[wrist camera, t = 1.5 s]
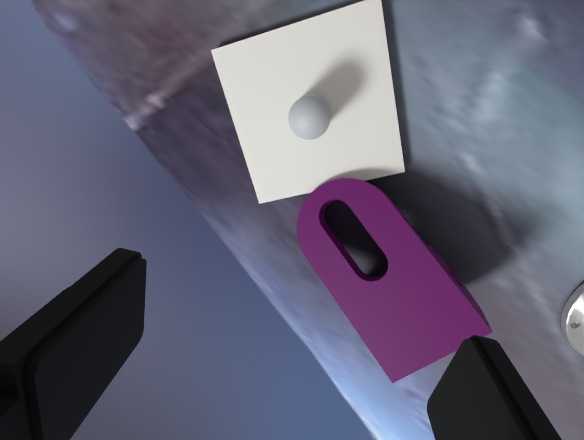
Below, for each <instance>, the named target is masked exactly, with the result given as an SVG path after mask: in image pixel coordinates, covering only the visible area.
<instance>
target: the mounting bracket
mask: <svg viewBox="0 0 584 440" xmlns="http://www.w3.org/2000/svg"><path fill="white" fill-rule="evenodd" d="M335 200H342V201H344V202H345V203H346V204H347V205H348V206H349V207H350V208H351V210H352V211H353V212H354V214H355V215H356V216H357V218H358V219H359V220H360V222H361V223H362V224H363V226H364V227H365V228H366V230H367V231H368V232H369V234H370V235H371V236H372V238H373V239H374V240H375V242H376V243H377V244H378V246H379V247H380V248H381V250H382V251H383V252H384V254H385V255H386V257H387V260H388V270H387V272H386V273H385V274H383V275H381V276H378V277H371V276H368V275H366V274H364V273H363V272H362V271H361V270H360V269H359V267H358V266H357V264H356V263H355V262H354V260H353V259H352V258H351V256H350V255H349V253H348V252H347V251H346V249H345V248H344V246H343V245H342V244H341V242H340V241H339V240H338V238H337V237H336V235H335V234H334V233H333V231H332V230H331V229H330V227H329V226H328V224H327V222H326V219H325V212H326V209H327V207H328V206H329V204H330V203H332V202H333V201H335ZM297 235H298V240H299V244H300V247H301V250H302V252H303V254H304V255H305V257H306V259H307V260H308V261H309V263H310V264H311V266H312V267H313V269H314V270H315V272H316V273H317V274H318V276H319V277H320V279H321V280H322V282H323V283H324V285H325V286H326V287H327V289H328V290H329V292H330V293H331V295H332V296H333V298H334V299H335V300H336V302H337V303H338V305H339V306H340V308H341V309H342V311H343V312H344V314H345V315H346V316H347V318H348V319H349V321H350V322H351V324H352V325H353V327H354V328H355V329H356V331H357V332H358V334H359V335H360V337H361V338H362V340H363V341H364V342H365V344H366V345H367V347H368V348H369V350H370V351H371V353H372V354H373V355H374V357H375V358H376V360H377V361H378V363H379V364H380V366H381V367H382V369H383V370H384V371H385V373H386V374H387V376H388V377H389V379H390V380H391V382H392V383H394V382H396V381H398V380H400V379H402V378H404V377H405V376H407V375H409V374H411V373H413V372H415V371H417V370H419V369H421V368H423V367H425V366H427V365H429V364H431V363H433V362H435V361H437V360H439V359H441V358H443V357H445V356H447V355H449V354H451V353H452V352H454V351H456V350H458V349H459V347H460V345H461V343H462V342H463V340H464V339H469V338H470V337H471V336H473V335H477V336H481V337H484V336H486V335H488V334H490V333H492V330H491V328H490V326H489V324H488V322H487V320H486V318H485V316H484V314H483V312H482V310H481V309H480V307H479V305H478V304H477V302H476V301H475V300H474V298H473V297H472V295H471V294H470V293H469V291H468V290H467V288H466V287H465V286H464V284H463V283H462V282H461V280H460V279H459V278H458V277H457V275H456V274H455V273H454V271H453V270H452V269H451V268H450V267H449V265H448V264H447V263H446V262H445V261H444V259H443V258H442V257H441V256H440V255H439V254H438V252H437V251H436V250H435V249H434V248H433V247H432V246H431V245H430V244H428V245H427V244H426V243H425V242H424V241H423V240H422V238H421V237H420V236H419V235H418V233H417V232H416V231H415V229H414V228H413V227H412V226H411V224H410V223H409V222H408V221H407V219H406V218H405V217H404V215H403V214H402V213H401V212H400V210H399V209H398V208H397V207H396V205H395V204H394V203H393V201H392V200H391V199H390V198H389V197H388V195H387V194H386V193H384V192H383V191H382V190H381V189H380V188H378V187H376V186H375V185H373V184H370V183H368V182H365V181H362V180H359V179H353V178H341V179H335V180H331V181H329V182H326V183H324V184H322V185H321V186H319V187H318V188H316V189H315V190H314V191H313V192H312V193H311V194H310V195H309V196H308V197H307V199H306V200H305V202H304V203H303V205H302V207H301V210H300V213H299V216H298V222H297Z"/></svg>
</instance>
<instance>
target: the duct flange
mask: <svg viewBox="0 0 584 440" xmlns="http://www.w3.org/2000/svg"><path fill="white" fill-rule="evenodd" d="M211 52H212V55H213V59H214V62H215V65H216V68H217V71H218V74H219V77H220V81H221V84H222V87H223V90H224V93H225V96H226V100H227V103H228V106H229V109H230V112H231V115H232V119H233V122H234V125H235V128H236V131H237V134H238V138H239V141H240V144H241V147H242V150H243V153H244V156H245V160H246V163H247V166H248V169H249V172H250V175H251V179H252V182H253V185H254V188H255V191H256V194H257V198H258V201H259V204H260V203H265V202H269V201H274V200H278V199H283V198H288V197H292V196H297V195H301V194H306V193H310V192H313V191H314V190H315V189H316V188H318V187H319V186H321V185H322V184H324V183H326V182H329V181H331V180H335V179H341V178H353V179H359V180H362V181H366V180H370V179H375V178H379V177H384V176H389V175H393V174H398V173H402V172H405V169H404V162H403V154H402V147H401V140H400V133H399V126H398V118H397V111H396V104H395V97H394V89H393V82H392V75H391V68H390V61H389V53H388V46H387V39H386V32H385V24H384V17H383V10H382V3H381V0H364V1H361V2H358V3H355V4H352V5H349V6H346V7H343V8H340V9H337V10H334V11H330V12H327V13H324V14H321V15H318V16H315V17H312V18H309V19H306V20H303V21H300V22H297V23H293V24H290V25H287V26H284V27H281V28H278V29H275V30H272V31H269V32H266V33H263V34H260V35H256V36H253V37H250V38H247V39H244V40H241V41H238V42H235V43H232V44H229V45H226V46H222V47H219V48H216V49H213V50H211Z"/></svg>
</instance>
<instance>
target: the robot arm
mask: <svg viewBox="0 0 584 440" xmlns="http://www.w3.org/2000/svg"><path fill="white" fill-rule="evenodd" d="M145 287H146V260H145V259H142V256H141V253H139V252H136V251H131V250H127V249H123V248H118V249H116V250H115V251H113V252H112V253H111V254H110V255H109V256H107V257H106V258H105V259H104V260H102V261H101V262H100V263H99V264H97V265H96V266H95V267H94V268H93V269H91V270H90V271H89V272H88V273H86V274H85V275H84V276H83V277H82V278H80V279H79V280H78V281H77V282H75V283H74V284H73V285H72V286H70V287H68V288H67V289H65V290H63V291H62V292H61V293H60V294H59V295H57V296H56V297H55V298H54V299H52V300H51V301H50V302H49V303H48V304H46V305H45V306H44V307H42V308H41V309H40V310H39V311H38V312H36V313H35V314H34V315H32V316H31V317H30V318H29V319H28V320H26V321H25V322H24V323H23V324H22V325H20V326H19V327H18V328H16V329H15V330H14V331H13V332H11V333H10V334H9V335H8V336H7V337H5V338H4V339H3V340H2V341H0V440H70V439H71V437H72V436H73V434H74V433H75V432H76V430H77V429H78V427H79V426H80V424H81V423H82V422H83V420H84V419H85V417H86V416H87V415H88V413H89V412H90V410H91V409H92V408H93V406H94V405H95V403H96V402H97V401H98V399H99V398H100V396H101V395H102V393H103V392H104V391H105V389H106V388H107V386H108V385H109V384H110V382H111V381H112V379H113V378H114V376H115V375H116V374H117V372H118V371H119V369H120V368H121V367H122V365H123V364H124V363H125V361H126V360H127V358H128V357H129V355H130V354H131V353H132V351H133V350H134V349H135V347H136V346H137V344H138V343H139V341H140V339H141V337H142V334H143V330H144V308H145ZM561 326H562V332H563V334H564V336H565V338H566V339H567V341H568V342H569V343H570V344H571V345H572V346H573V348H574V349H576V350H577V351H578V352H579V353H580V354H582V355H583V356H584V283H583V284H581V285H580V286H579V287H578V288H577V289H576V290H575V292H574V293H573V294H572V295H571V296H570V298H569V299H568V301H567V303H566V304H565V307H564V309H563V312H562V318H561ZM427 413H428V416H429V420H430V423H431V426H432V430H433V433H434V436H435V440H562V439H561V438H560V436H559V435H558V433H557V432H556V430H555V429H554V427H553V426H552V424H551V423H550V421H549V419H548V418H547V416H546V415H545V413H544V412H543V410H542V409H541V407H540V406H539V404H538V403H537V401H536V399H535V398H534V396H533V395H532V393H531V392H530V390H529V389H528V387H527V386H526V384H525V383H524V381H523V379H522V378H521V376H520V375H519V373H518V372H517V370H516V369H515V367H514V366H513V364H512V362H511V361H510V359H509V358H508V356H507V355H506V353H505V352H504V350H503V349H502V347H501V346H500V344H499V343H498V342H497V341H496V340H493V339H489V338H485V337H481V336H477V335H473V336H471V337H470V338H469V339H464V340H463V342H462V343H461V345H460V347H459V349H458V350H457V352H456V354H455V355H454V357H453V359H452V360H451V362H450V364H449V366H448V367H447V369H446V371H445V372H444V374H443V376H442V378H441V379H440V381H439V383H438V384H437V386H436V388H435V390H434V391H433V393H432V395H431V396H430V398H429V400H428V403H427Z"/></svg>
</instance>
